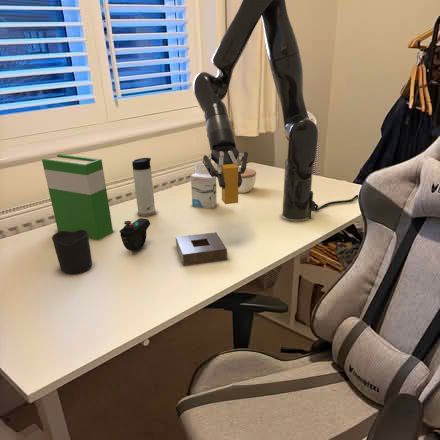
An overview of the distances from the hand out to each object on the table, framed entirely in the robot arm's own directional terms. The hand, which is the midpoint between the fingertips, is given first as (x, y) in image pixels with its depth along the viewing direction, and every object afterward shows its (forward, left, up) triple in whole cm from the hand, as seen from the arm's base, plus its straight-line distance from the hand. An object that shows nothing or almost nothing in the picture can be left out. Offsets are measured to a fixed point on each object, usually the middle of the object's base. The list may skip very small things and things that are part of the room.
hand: (231, 186), depth 127 cm
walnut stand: (+10, +3, -19) cm, 21 cm away
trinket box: (-19, -51, -19) cm, 58 cm away
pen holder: (+46, +2, -19) cm, 50 cm away
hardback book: (+44, -25, -19) cm, 54 cm away
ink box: (0, -38, -19) cm, 43 cm away
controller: (+28, -6, -19) cm, 35 cm away
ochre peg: (0, -2, -5) cm, 5 cm away
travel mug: (+22, -36, -19) cm, 47 cm away
